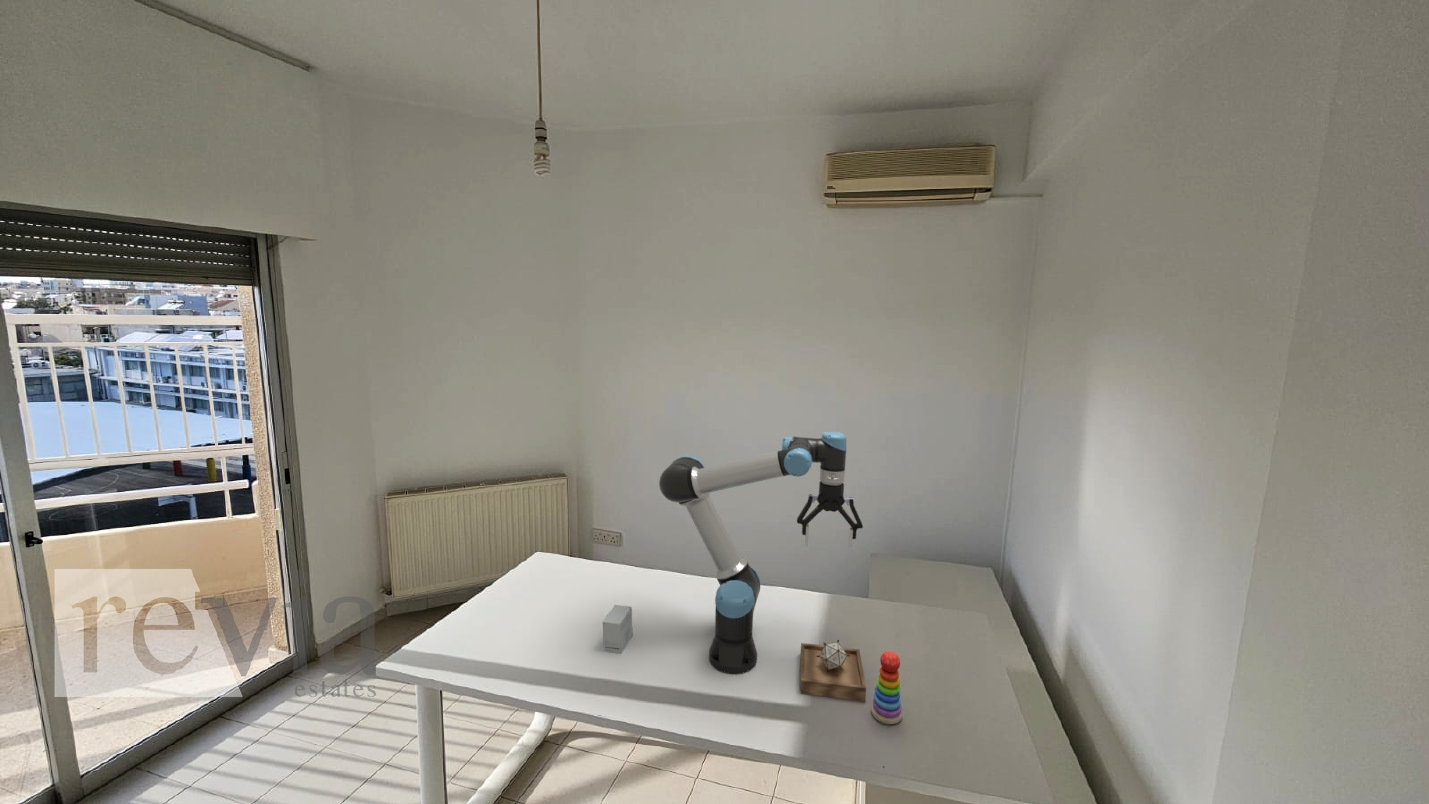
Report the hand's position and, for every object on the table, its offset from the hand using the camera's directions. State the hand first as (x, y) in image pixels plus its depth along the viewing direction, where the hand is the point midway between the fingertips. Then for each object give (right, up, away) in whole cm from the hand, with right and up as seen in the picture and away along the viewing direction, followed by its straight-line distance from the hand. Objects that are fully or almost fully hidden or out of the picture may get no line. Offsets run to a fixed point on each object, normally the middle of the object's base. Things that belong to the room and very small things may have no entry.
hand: (828, 546), depth 171 cm
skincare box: (-68, -33, +5) cm, 76 cm away
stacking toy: (+11, -40, -25) cm, 48 cm away
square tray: (-1, -37, -9) cm, 38 cm away
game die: (-1, -34, -10) cm, 35 cm away
